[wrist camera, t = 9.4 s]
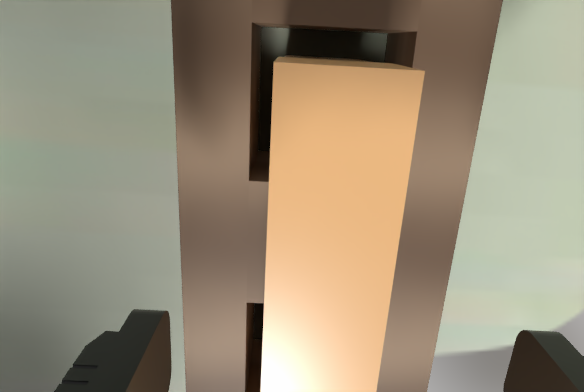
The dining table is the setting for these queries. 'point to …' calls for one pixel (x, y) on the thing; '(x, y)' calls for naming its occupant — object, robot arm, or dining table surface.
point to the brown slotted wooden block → (255, 165)
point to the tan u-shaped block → (334, 218)
